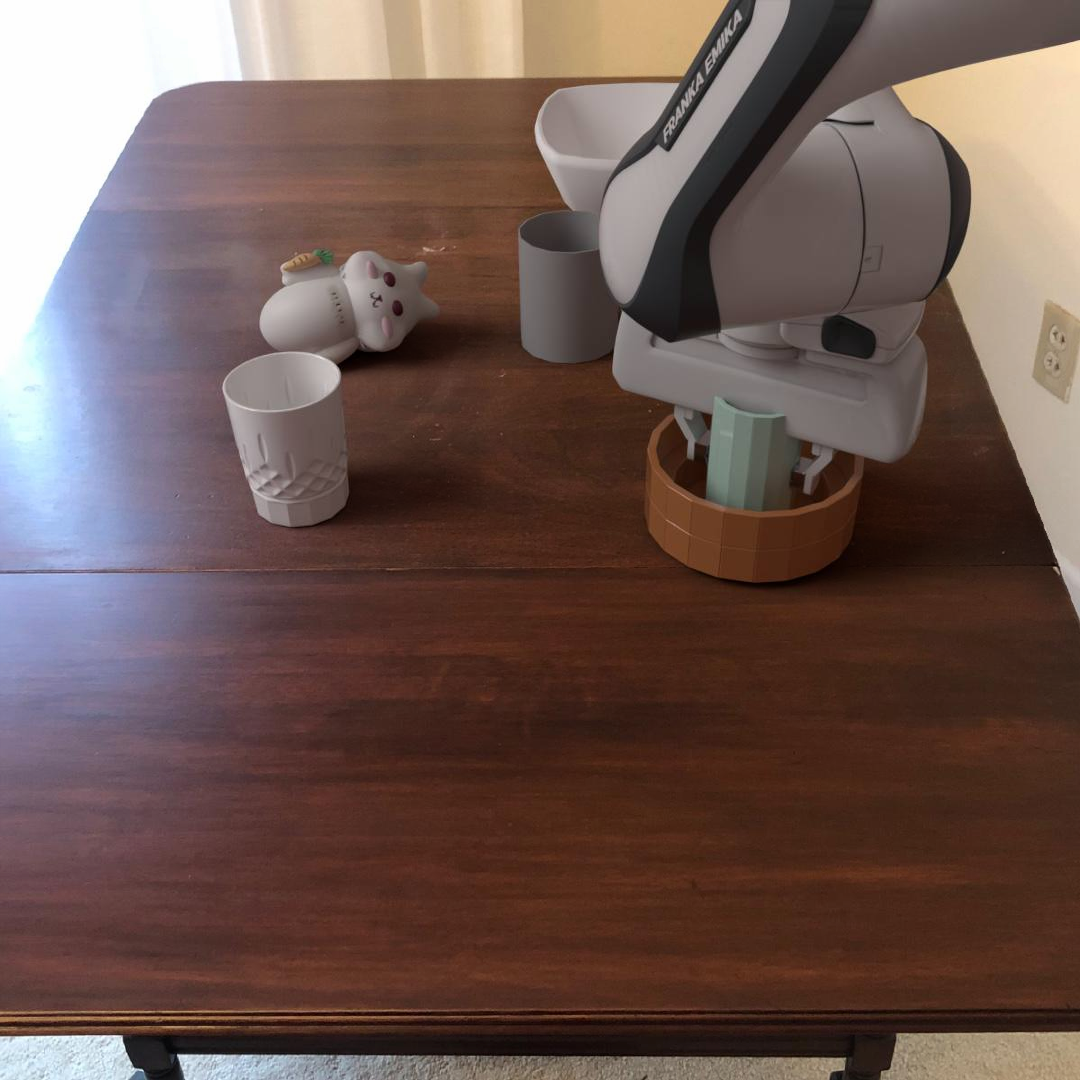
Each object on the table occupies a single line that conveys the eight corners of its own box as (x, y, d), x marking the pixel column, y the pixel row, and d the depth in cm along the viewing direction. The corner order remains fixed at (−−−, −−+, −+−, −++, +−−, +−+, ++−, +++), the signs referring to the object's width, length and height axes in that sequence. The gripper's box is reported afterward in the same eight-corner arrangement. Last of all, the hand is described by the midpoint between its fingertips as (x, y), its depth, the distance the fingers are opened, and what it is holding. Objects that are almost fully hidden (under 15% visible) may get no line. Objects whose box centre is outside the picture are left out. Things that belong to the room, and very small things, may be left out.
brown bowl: (893, 529, 85) (908, 457, 81) (754, 619, 77) (763, 545, 74) (740, 443, 93) (747, 375, 89) (603, 517, 86) (604, 446, 82)
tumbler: (808, 518, 85) (827, 394, 78) (750, 554, 82) (765, 428, 75) (744, 480, 88) (757, 359, 82) (685, 513, 85) (694, 390, 79)
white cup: (227, 522, 86) (200, 401, 80) (278, 461, 92) (256, 344, 86) (329, 541, 84) (309, 419, 78) (374, 478, 90) (359, 359, 84)
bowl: (770, 283, 114) (784, 162, 107) (533, 284, 114) (531, 164, 107) (744, 190, 131) (754, 80, 124) (538, 191, 132) (536, 82, 125)
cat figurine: (239, 264, 97) (421, 220, 99) (246, 274, 105) (415, 233, 107) (272, 381, 99) (451, 335, 101) (277, 382, 107) (443, 340, 109)
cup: (635, 347, 105) (639, 238, 99) (552, 373, 102) (551, 262, 96) (583, 308, 111) (584, 202, 105) (504, 331, 108) (500, 223, 101)
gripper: (597, 271, 76) (594, 454, 85) (922, 348, 68) (883, 542, 77) (641, 233, 80) (635, 411, 89) (953, 301, 72) (912, 490, 81)
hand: (752, 473), depth 83 cm, fingers closed on tumbler, 6 cm apart
